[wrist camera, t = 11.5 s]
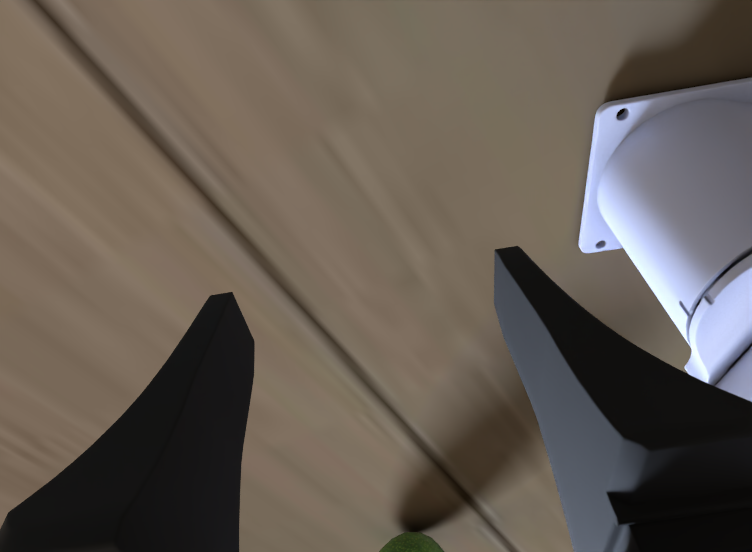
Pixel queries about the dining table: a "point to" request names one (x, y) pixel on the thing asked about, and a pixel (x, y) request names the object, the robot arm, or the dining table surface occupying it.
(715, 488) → the robot arm
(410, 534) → the avocado
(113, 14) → the dining table surface
